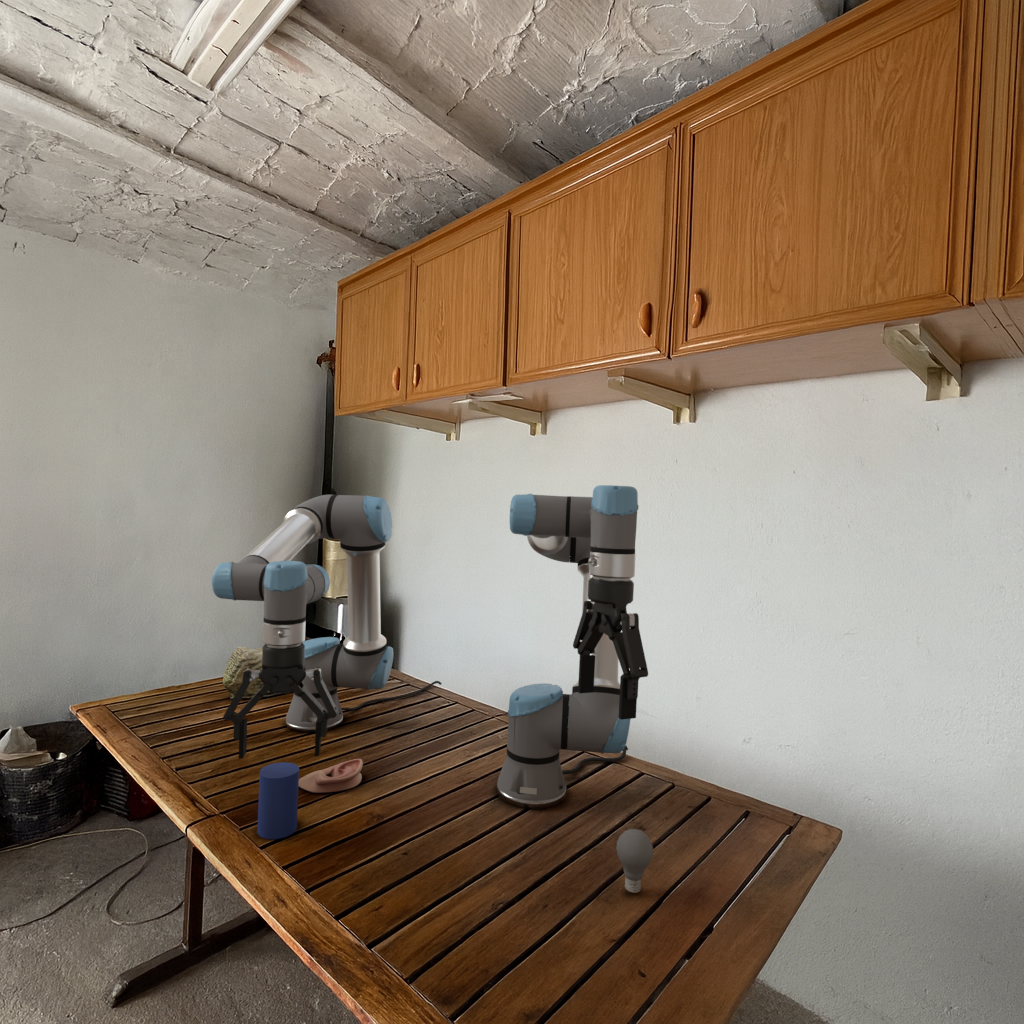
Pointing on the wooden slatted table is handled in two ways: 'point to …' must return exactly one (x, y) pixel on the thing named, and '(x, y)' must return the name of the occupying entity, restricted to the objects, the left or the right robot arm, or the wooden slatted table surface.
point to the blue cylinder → (278, 800)
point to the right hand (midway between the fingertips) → (605, 704)
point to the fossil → (238, 666)
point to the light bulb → (634, 857)
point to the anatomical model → (333, 777)
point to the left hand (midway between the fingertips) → (280, 754)
